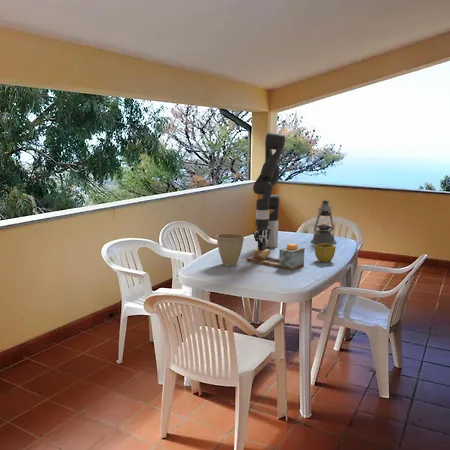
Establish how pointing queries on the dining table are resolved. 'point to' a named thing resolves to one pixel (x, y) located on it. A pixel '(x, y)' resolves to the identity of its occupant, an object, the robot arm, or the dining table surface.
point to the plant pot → (230, 248)
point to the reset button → (292, 246)
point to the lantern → (323, 226)
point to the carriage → (262, 251)
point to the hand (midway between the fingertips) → (261, 247)
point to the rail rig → (283, 259)
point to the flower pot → (324, 252)
